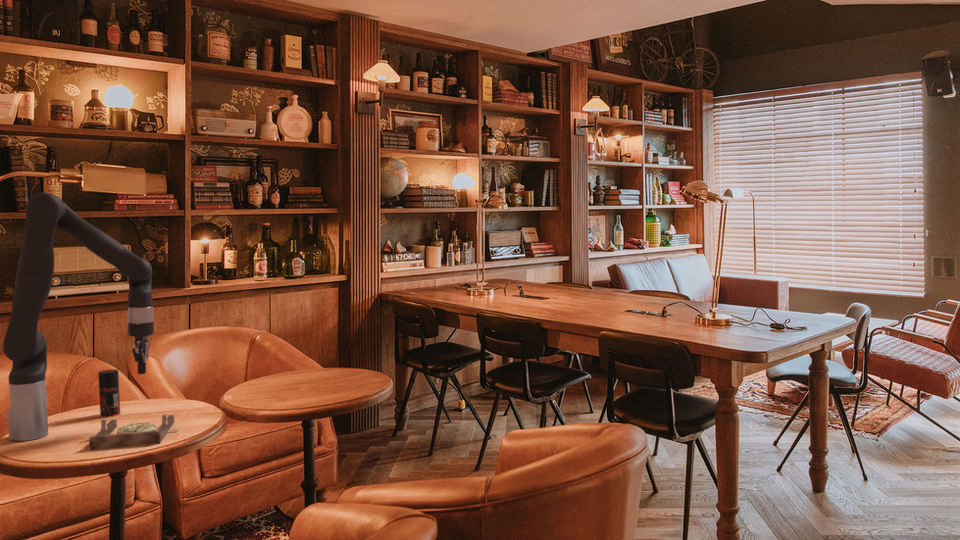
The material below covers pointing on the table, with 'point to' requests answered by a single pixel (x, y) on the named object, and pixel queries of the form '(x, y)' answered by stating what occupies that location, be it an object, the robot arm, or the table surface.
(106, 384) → the deodorant
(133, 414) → the table surface
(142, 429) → the decorated donut
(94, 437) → the u-shaped frame
